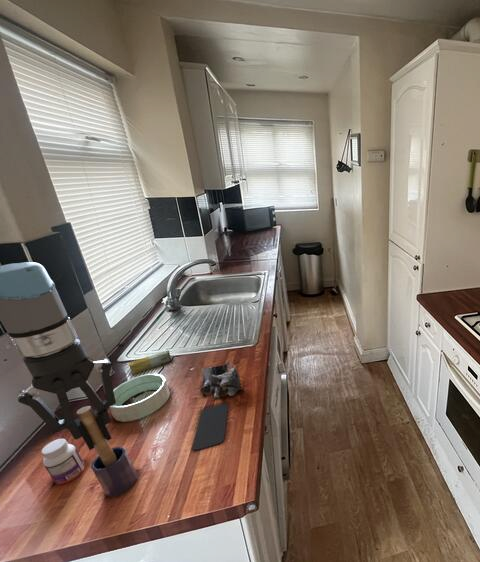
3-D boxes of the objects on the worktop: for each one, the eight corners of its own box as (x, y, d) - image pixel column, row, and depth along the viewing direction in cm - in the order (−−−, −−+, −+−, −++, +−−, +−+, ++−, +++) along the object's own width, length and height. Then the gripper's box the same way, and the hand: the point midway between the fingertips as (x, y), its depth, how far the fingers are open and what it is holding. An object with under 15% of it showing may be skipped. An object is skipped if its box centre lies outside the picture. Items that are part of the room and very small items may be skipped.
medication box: (171, 359, 115) (168, 349, 113) (172, 361, 113) (169, 352, 111) (132, 372, 108) (128, 362, 106) (132, 375, 106) (128, 365, 104)
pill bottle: (63, 469, 74) (45, 440, 71) (90, 461, 76) (74, 432, 72) (50, 490, 70) (31, 460, 66) (79, 481, 71) (62, 451, 68)
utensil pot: (99, 500, 67) (83, 472, 64) (118, 474, 73) (104, 447, 69) (127, 498, 67) (112, 469, 64) (144, 472, 73) (131, 445, 69)
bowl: (101, 425, 86) (93, 409, 84) (134, 390, 99) (127, 375, 97) (153, 421, 87) (147, 405, 85) (179, 386, 100) (174, 372, 98)
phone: (228, 402, 92) (224, 442, 79) (229, 404, 92) (224, 444, 79) (201, 409, 90) (191, 451, 77) (202, 411, 90) (192, 453, 77)
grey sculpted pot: (240, 359, 108) (236, 360, 94) (244, 390, 106) (240, 396, 92) (202, 366, 103) (192, 368, 90) (206, 399, 102) (196, 406, 88)
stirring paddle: (114, 492, 68) (74, 417, 60) (111, 485, 69) (72, 412, 61) (131, 481, 70) (95, 407, 62) (128, 475, 71) (92, 402, 63)
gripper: (-14, 377, 48) (51, 479, 57) (108, 335, 59) (147, 426, 68) (-13, 359, 53) (47, 456, 62) (100, 323, 63) (137, 410, 72)
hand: (99, 440), depth 65 cm, fingers closed on stirring paddle, 2 cm apart
